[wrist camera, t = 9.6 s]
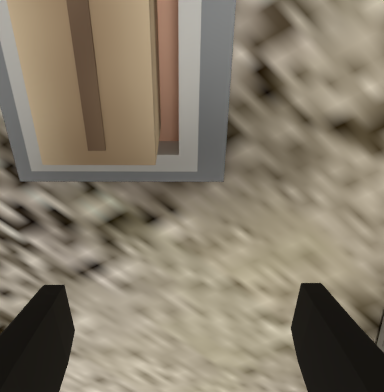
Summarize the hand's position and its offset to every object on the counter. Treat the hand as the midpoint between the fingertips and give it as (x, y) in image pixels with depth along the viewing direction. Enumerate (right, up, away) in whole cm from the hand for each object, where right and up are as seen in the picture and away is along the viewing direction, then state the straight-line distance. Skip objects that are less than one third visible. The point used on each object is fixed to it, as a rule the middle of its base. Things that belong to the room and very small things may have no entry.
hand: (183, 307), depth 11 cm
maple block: (-3, +10, +3) cm, 11 cm away
